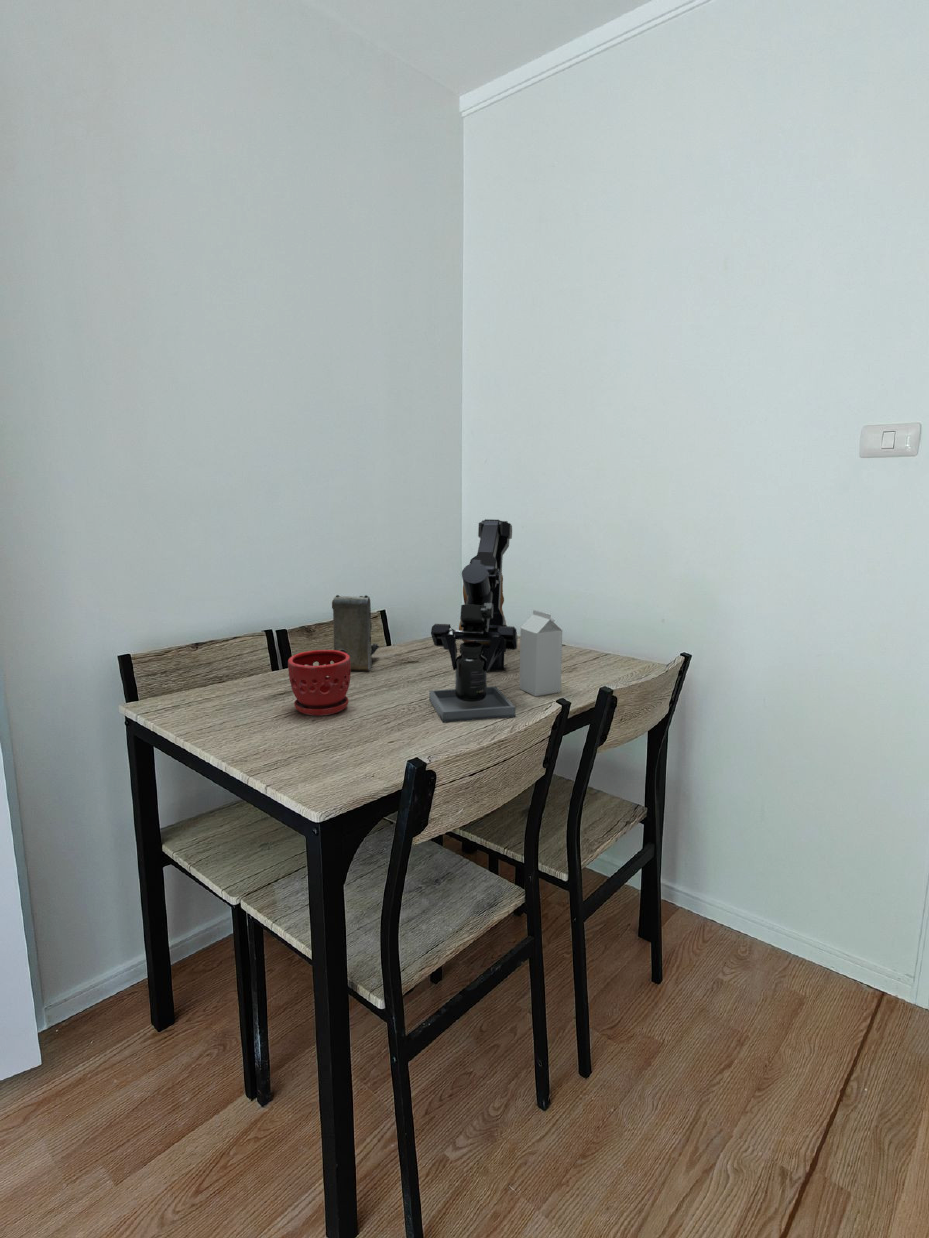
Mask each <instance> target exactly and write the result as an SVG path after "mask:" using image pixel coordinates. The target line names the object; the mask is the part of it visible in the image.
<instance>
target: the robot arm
mask: <svg viewBox="0 0 929 1238" xmlns="http://www.w3.org/2000/svg"><path fill="white" fill-rule="evenodd" d="M477 531H478V532H477V534H478V535H477V538H479V543H478V549H477V554H476V555H475V556H473V557H472V558H471V559H470V561H469V564H467V565H466V566H465V567H463V569H462V570H461V579H462V583H463V584H464V589H465V593H466V595H467V602H466V605H465V604H461V606H460V618H459V619H460V620H461V627H463V630H462V631H459V629H458V630H455V629H453V628H451V624H449V623H434V624H433V625H432V626H431V629H430V630H431V631H430V635H431V638H432V641H433V644H434V645H433V646H436V647H442V648H443V649H444V650H448V653H449V656H450V661H451V666H452V670H453V671H455V663H456V659H457V657H458V647H457V641H458V640H459V641H460V640H461V641H462V640H474V642H477V643H481V644H482V650H483V653H482V654H481V655H482V656H484V657H485V658H486V660H487V661H486V672H497V671H498V672H500V671H503V672H504V671H506V670H507V668H506V667H505V652H506V651H507V650H517V649H518V632H517V628H516V627H515V626H512V625H511V626H509V625H507V624H506V625H505V621H506V618H505V619H504V617H505V616H504V617H503V615H502V613H501V611H500V598H501V578H502V575H503V560H504V559H503V558H504V555H505V553H506V551H507V550H508V549H509V547H510V540H511V539H512V538H513V524H512V523H511V522H508V521H507V520H500V519H488V518H487V519H486V518H485V519H484V520H481V522H478V530H477ZM463 584H462V585H463Z"/></svg>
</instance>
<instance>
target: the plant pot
mask: <svg viewBox="0 0 929 1238" xmlns="http://www.w3.org/2000/svg"><path fill="white" fill-rule="evenodd" d="M315 662H317V663H318V665H314V663H315ZM331 662H332V663H331ZM287 667H288V668H287V669H288V671H287V672H288V679H289V682H290V683H289V684H290V687H291V690H292V692H293V695H294V697H295V698H296V699H295V700H294V703H293V704H294V708H295V709H296V710H297V711H298V712H299V713H301V714H303V715H309V716H317V717H320V716H321V717H322V716H329V715H332V714H337V713H340V712H341V711H343V710H344V709H345V708H346V707H347V706H348V705H349V701H350V699H349V698H348V696H346V695H347V693H348V691H349V688H350V682H351V673H352V671H351V665H350V656H349V655H348V654H347V653H344V652H342V651H337V650H334V649H317V650H314V649H313V650H307V651H303V652H299V653H296V654H294V655H292V656H290V657H289V658H288V660H287Z"/></svg>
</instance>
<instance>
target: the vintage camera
mask: <svg viewBox="0 0 929 1238" xmlns="http://www.w3.org/2000/svg"><path fill="white" fill-rule="evenodd" d="M371 607H372V606H371V598H370V596H368V595H367V594H365V595H364V596H363V595H359V596H348V595H339V594H337V595H336V596H335V597H333V599H332V602H331V609H332V616H333V617H332V618H333V619H332V620H333V621H332V623H333V650H337V651H342V652H344V653H347V654H348V655H349V656H350V665H351V672H352V671H353V672H356V671H359V672H361V671H363V672H368V671H371V670H372V656H373V654H375V653H376V651H377V650H378V649H379V648H380V645H378V643H375V642H373V644H372V635H371V634H372V611H371V610H372V609H371Z"/></svg>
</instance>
